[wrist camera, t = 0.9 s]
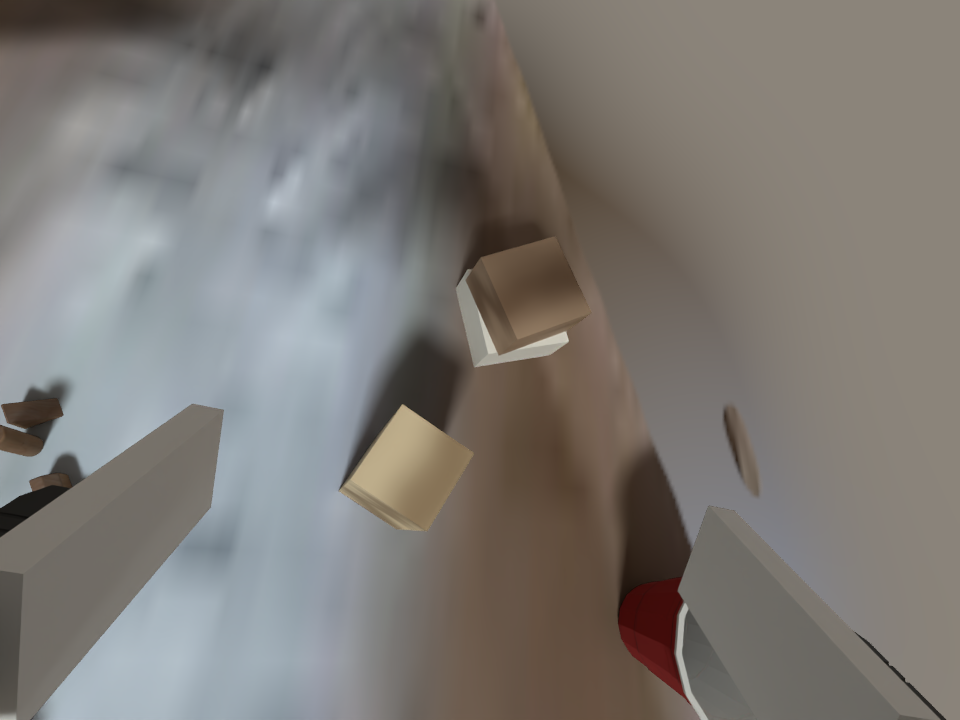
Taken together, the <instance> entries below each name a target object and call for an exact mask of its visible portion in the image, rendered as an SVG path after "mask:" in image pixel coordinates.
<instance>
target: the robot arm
mask: <svg viewBox="0 0 960 720" xmlns="http://www.w3.org/2000/svg"><path fill="white" fill-rule="evenodd" d="M223 412H224V410H222V409H217V408H212V407H207V406H201V405H196V404H191V405H190V406H189V407H187V408H186V409H184V410H183V411H181V412H180V413H178V414H177V415H176V416H174V417H173V418H171V419H170V420H168V421H167V422H166V423H164V424H163V425H161V426H160V427H158V428H157V429H155V430H154V431H153V432H151V433H150V434H148V435H147V436H145V437H144V438H143V439H141V440H140V441H138V442H137V443H135V444H134V445H132V446H131V447H130V448H128V449H127V450H125V451H124V452H122V453H121V454H120V455H118V456H117V457H115V458H114V459H112V460H111V461H110V462H108V463H107V464H105V465H104V466H102V467H101V468H99V469H98V470H97V471H95V472H94V473H92V474H91V475H89V476H88V477H87V478H85V479H84V480H82V481H81V482H79V483H78V484H76V485H75V486H74V487H72V488H67V487H62V486H56V485H50V486H47V487H44V488H42V489H39V490H36V491H33V492H30V493H27V494H24V495H21V496H19V497H18V498H16V499H14V500H13V501H11V502H10V503H8V504H6V505H5V506H3V507H2V508H0V720H31V719H32V717H33V716H34V715H35V714H36V713H37V711H38V710H39V709H40V708H41V707H42V706H43V704H44V703H45V702H46V701H47V700H48V699H49V697H50V696H51V695H52V694H53V693H54V691H55V690H56V689H57V688H58V687H59V686H60V684H61V683H62V682H63V681H64V680H65V678H66V677H67V676H68V675H69V674H70V673H71V671H72V670H73V669H74V668H75V667H76V665H77V664H78V663H79V662H80V661H81V660H82V658H83V657H84V656H85V655H86V654H87V653H88V651H89V650H90V649H91V648H92V647H93V645H94V644H95V643H96V642H97V641H98V640H99V638H100V637H101V636H102V635H103V634H104V632H105V631H106V630H107V629H108V628H109V627H110V625H111V624H112V623H113V622H114V621H115V619H116V618H117V617H118V616H119V615H120V614H121V612H122V611H123V610H124V609H125V608H126V607H127V605H128V604H129V603H130V602H131V601H132V599H133V598H134V597H135V596H136V595H137V594H138V592H139V591H140V590H141V589H142V588H143V586H144V585H145V584H146V583H147V582H148V581H149V579H150V578H151V577H152V576H153V575H154V574H155V572H156V571H157V570H158V569H159V568H160V566H161V565H162V564H163V563H164V562H165V561H166V559H167V558H168V557H169V556H170V555H171V553H172V552H173V551H174V550H175V549H176V548H177V546H178V545H179V544H180V543H181V542H182V540H183V539H184V538H185V537H186V536H187V535H188V533H189V532H190V531H191V530H192V529H193V528H194V526H195V525H196V524H197V523H198V522H199V520H200V519H201V518H202V517H203V516H204V515H205V513H206V512H207V511H208V510H209V509H210V507H211V501H212V494H213V487H214V479H215V472H216V464H217V457H218V449H219V442H220V434H221V427H222V420H223ZM678 592H679V594H680V595H681V597H682V599H683V600H684V602H685V603H686V605H687V607H688V608H689V610H690V612H691V613H692V615H693V616H694V618H695V620H696V621H697V623H698V625H699V626H700V628H701V629H702V631H703V633H704V634H705V636H706V637H707V639H708V641H709V642H710V644H711V646H712V647H713V649H714V650H715V652H716V654H717V655H718V657H719V658H720V660H721V662H722V663H723V665H724V667H725V668H726V670H727V671H728V673H729V675H730V676H731V678H732V680H733V681H734V683H735V684H736V686H737V688H738V689H739V691H740V692H741V694H742V696H743V697H744V699H745V701H746V702H747V704H748V705H749V707H750V709H751V710H752V712H753V713H754V715H755V717H756V718H757V720H946V719H945V718H944V717H943V716H942V715H941V714H940V713H939V712H938V711H937V710H936V709H935V708H934V707H933V706H932V705H931V704H930V703H929V702H928V701H927V700H926V699H925V698H924V697H923V696H922V695H921V694H920V693H919V692H918V691H917V690H916V689H915V688H914V687H913V686H912V685H911V684H910V683H907V682H905V678H904V677H903V676H902V675H901V674H900V673H899V672H898V671H897V670H896V669H895V668H894V667H893V666H889V664H888V663H889V662H888V661H887V660H886V659H885V658H884V657H883V656H882V655H881V654H880V653H879V652H878V651H877V650H876V649H875V648H874V647H873V646H872V645H871V644H870V643H869V642H868V641H867V640H865V639H864V638H862V637H861V636H860V635H858V634H857V633H856V632H854V631H853V630H852V629H851V628H849V626H848V625H847V624H846V623H845V622H844V621H843V620H842V619H840V617H839V616H838V615H837V614H836V613H835V612H834V611H833V610H832V609H831V608H830V607H829V606H828V605H827V604H826V603H825V602H824V601H823V600H822V599H821V598H820V597H819V596H818V595H817V594H816V593H815V592H814V591H813V590H812V589H811V588H810V587H809V586H808V585H807V584H806V583H805V582H804V581H803V580H802V579H801V578H800V577H799V576H798V575H797V574H796V573H795V572H794V571H793V570H792V569H791V568H790V567H789V566H788V565H787V564H786V563H785V562H784V561H783V560H782V559H781V558H780V557H779V556H778V555H777V554H776V553H775V552H774V551H773V549H771V548H770V546H769V545H768V544H767V543H766V542H765V541H764V540H763V539H762V538H761V537H760V536H759V535H758V534H757V533H756V532H755V531H754V530H753V529H752V528H751V527H750V526H749V525H748V524H747V523H746V522H745V521H744V520H743V519H742V518H741V517H740V516H739V515H738V514H737V513H736V512H735V511H734V510H729V509H723V508H718V507H713V506H708V508H707V511H706V514H705V517H704V519H703V522H702V525H701V528H700V530H699V533H698V536H697V539H696V541H695V544H694V547H693V549H692V552H691V555H690V558H689V560H688V563H687V566H686V569H685V571H684V574H683V577H682V580H681V582H680V585H679V588H678Z"/></svg>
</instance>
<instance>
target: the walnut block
mask: <svg viewBox="0 0 960 720" xmlns="http://www.w3.org/2000/svg"><path fill="white" fill-rule="evenodd" d="M466 283H467V285H468V287H469V289H470V292H471V294H472V296H473V299H474V301H475V303H476V305H477V308H478V310H479V312H480V314H481V317H482V319H483V321H484V324H485V326H486V328H487V330H488V333H489V335H490V337H491V339H492V342H493V344H494V346H495V349H496V351H497V353H498V355H499V356H500V355H502V354H505V353H508V352H511V351H513V350H516V349H519V348H522V347H524V346H527V345H530V344H532V343H535V342H538V341H541V340H543V339H546V338H549V337H552V336H554V335H557V334H560V333H562V332H565V331H568V330H569V329H571V328H572V327H573V326H575V325H576V324H577V323H579V322H580V321H581V320H583V319H584V318H586V317H587V316H588V315H590V314H591V313H592V312H591V310H590V308H589V306H588V304H587V302H586V300H585V298H584V296H583V293H582V291H581V289H580V287H579V285H578V283H577V281H576V279H575V277H574V274H573V272H572V270H571V268H570V266H569V264H568V262H567V260H566V258H565V256H564V253H563V251H562V249H561V247H560V245H559V243H558V241H557V239H556V237H555V236H554V237H551V238H547V239H543V240H540V241H536V242H533V243H529V244H526V245H522V246H519V247H515V248H512V249H508V250H505V251H501V252H498V253H494V254H491V255H487V256H484V257H480V259H479V260H478V262H477V264H476V265H475V267H474V268H473V270H472V271H471V273H470V274H469V276H468V277H467V279H466Z"/></svg>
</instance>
